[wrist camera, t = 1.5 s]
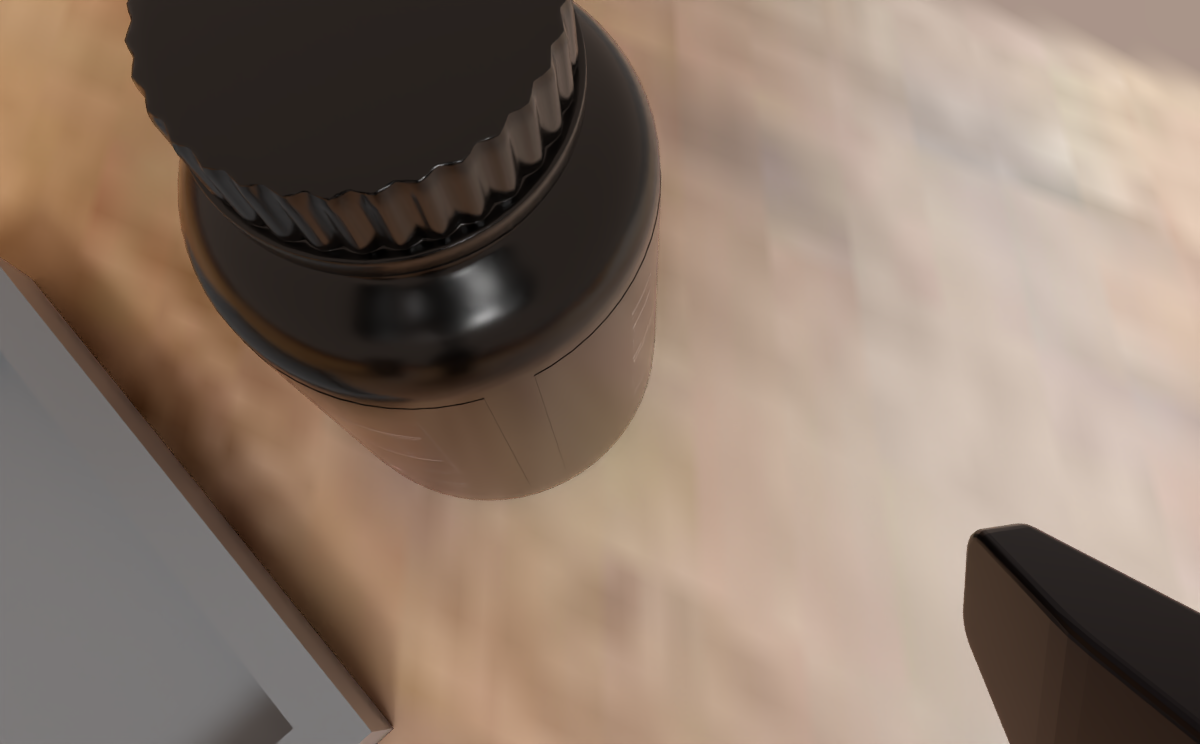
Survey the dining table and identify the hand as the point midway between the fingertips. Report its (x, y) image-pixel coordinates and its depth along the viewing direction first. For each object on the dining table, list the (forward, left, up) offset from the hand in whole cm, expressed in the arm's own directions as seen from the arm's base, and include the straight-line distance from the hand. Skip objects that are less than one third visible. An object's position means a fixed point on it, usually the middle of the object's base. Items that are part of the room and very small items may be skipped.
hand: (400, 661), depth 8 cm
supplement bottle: (+6, -4, -13) cm, 15 cm away
